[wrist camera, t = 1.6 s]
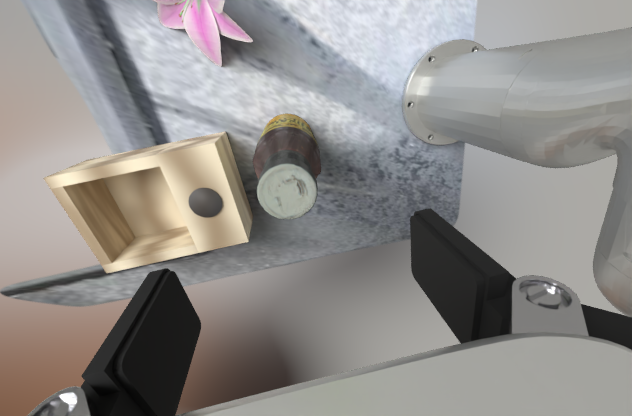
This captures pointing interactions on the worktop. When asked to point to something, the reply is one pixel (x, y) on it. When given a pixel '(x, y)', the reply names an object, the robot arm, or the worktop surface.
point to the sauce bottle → (287, 167)
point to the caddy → (157, 202)
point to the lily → (201, 24)
